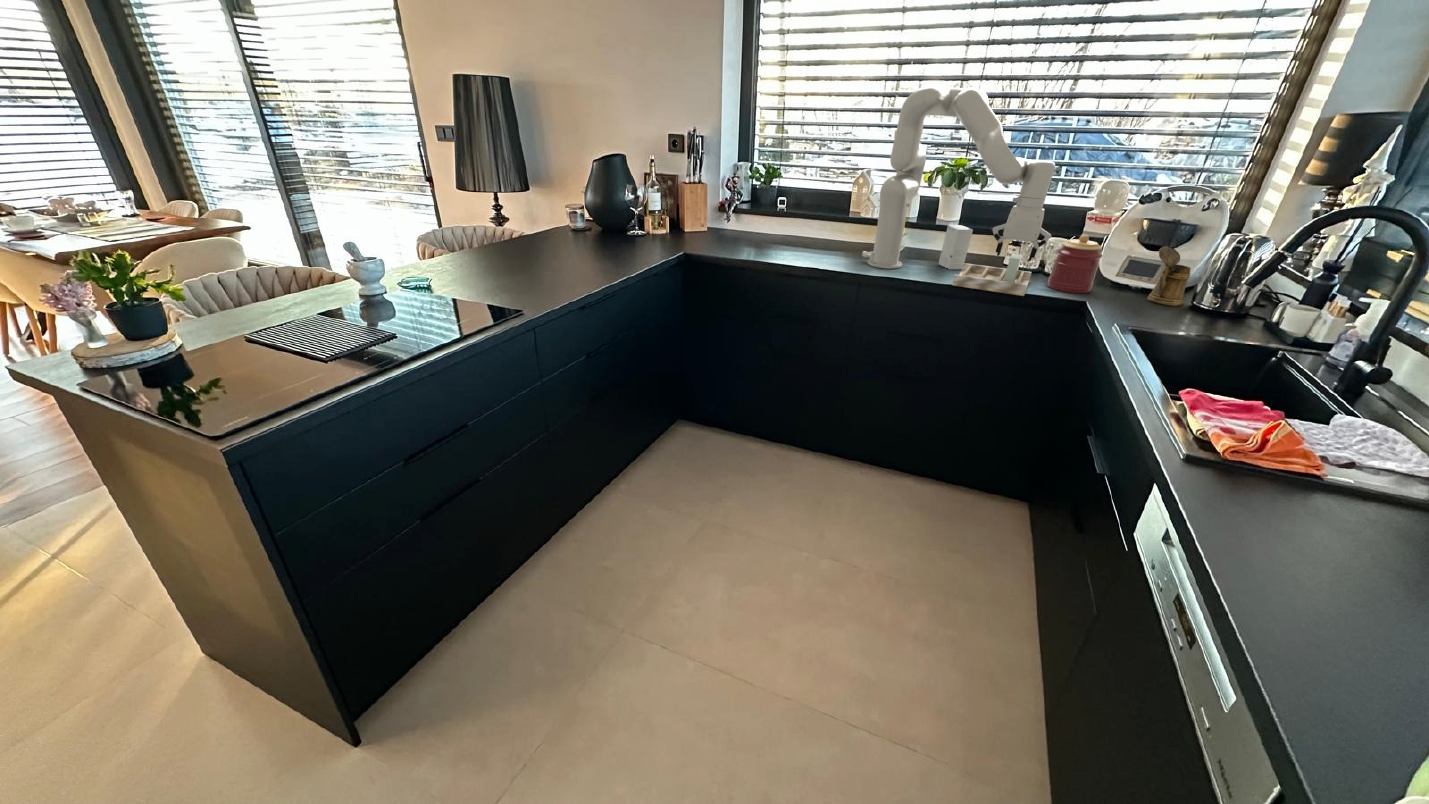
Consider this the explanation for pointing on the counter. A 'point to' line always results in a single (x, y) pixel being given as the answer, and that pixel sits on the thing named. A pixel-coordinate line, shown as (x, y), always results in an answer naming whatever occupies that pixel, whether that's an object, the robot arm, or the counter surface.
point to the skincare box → (955, 246)
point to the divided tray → (991, 279)
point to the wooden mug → (1170, 279)
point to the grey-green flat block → (1012, 268)
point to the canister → (1075, 265)
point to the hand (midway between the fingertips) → (1014, 257)
